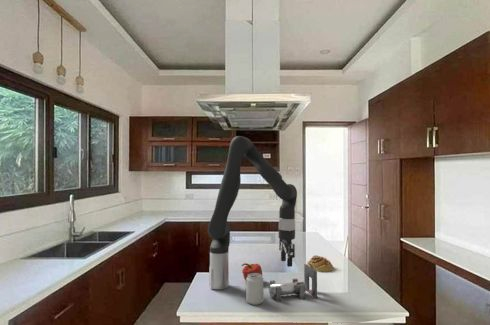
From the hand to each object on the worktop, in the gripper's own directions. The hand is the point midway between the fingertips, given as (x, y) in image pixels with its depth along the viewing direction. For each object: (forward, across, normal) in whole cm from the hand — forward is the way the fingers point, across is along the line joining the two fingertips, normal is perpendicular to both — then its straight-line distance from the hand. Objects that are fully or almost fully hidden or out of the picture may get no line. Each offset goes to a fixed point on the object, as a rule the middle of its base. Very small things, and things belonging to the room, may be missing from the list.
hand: (286, 263), depth 160 cm
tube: (+14, 0, 0) cm, 14 cm away
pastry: (+15, -35, +33) cm, 50 cm away
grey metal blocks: (+15, 0, -5) cm, 16 cm away
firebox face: (+15, 0, +12) cm, 19 cm away
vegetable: (+15, -22, -11) cm, 29 cm away
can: (+15, +3, -16) cm, 22 cm away
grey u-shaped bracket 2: (+15, 0, +6) cm, 16 cm away
